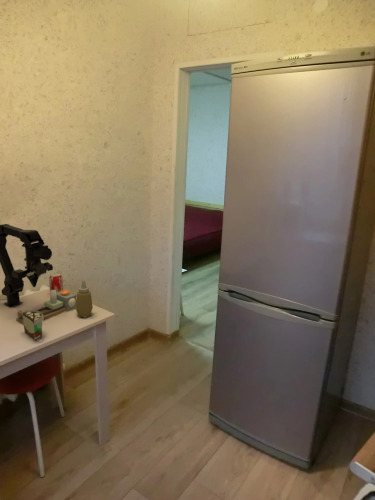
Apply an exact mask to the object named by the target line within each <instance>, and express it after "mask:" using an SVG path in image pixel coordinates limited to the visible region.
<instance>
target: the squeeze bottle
mask: <svg viewBox="0 0 375 500" xmlns="http://www.w3.org/2000/svg"><path fill="white" fill-rule="evenodd" d="M89 288H90V287H89V286H87V284H86V281H85V280H82V282H81V286H80V287H79V288H78V292H77V293H76V308H75V311H76V313H77V315H78V317H80V318H87V317H90V316H91V314H92V312H93V307H94V305H93V299H92V298H93V297H92V293H91V291H90V289H89Z"/></svg>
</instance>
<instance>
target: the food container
mask: <svg viewBox="0 0 375 500" xmlns="http://www.w3.org/2000/svg"><path fill="white" fill-rule="evenodd" d="M22 316H23V323H24V325H23V329H24V334H25V336H27V337H28V338H30V339H31V340H32V341H33V342H36V341H38V340H40V339H41V338H42V335H43V321H45V320H44V317H43V314H42V313H41V312H39V311H35V310H34V309H33V310H24V311H22Z"/></svg>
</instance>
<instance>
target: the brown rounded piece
mask: <svg viewBox="0 0 375 500" xmlns="http://www.w3.org/2000/svg"><path fill="white" fill-rule="evenodd" d="M69 292H70V290H69V289H63V290H62V291H61V292H60V294H61V295H69Z"/></svg>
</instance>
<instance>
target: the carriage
mask: <svg viewBox="0 0 375 500" xmlns="http://www.w3.org/2000/svg"><path fill="white" fill-rule="evenodd" d="M49 297H50V300H47V301H43V305H44V306H43V307H48V308H50V309H53V310H54V309H56V308H59V307H62V306H63V302H62V301H59V300H57V295H56V290H51V291H50V290H49Z"/></svg>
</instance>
